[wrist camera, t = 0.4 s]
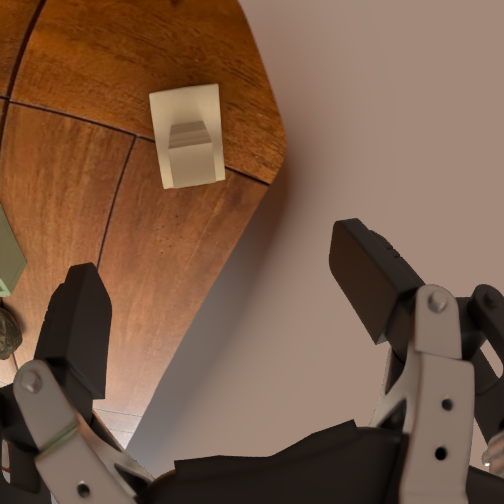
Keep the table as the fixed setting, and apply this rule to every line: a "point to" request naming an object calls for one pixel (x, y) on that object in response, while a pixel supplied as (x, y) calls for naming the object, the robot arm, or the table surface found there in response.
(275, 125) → the table surface
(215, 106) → the base with upright post
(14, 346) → the seashell
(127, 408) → the table surface
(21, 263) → the bin
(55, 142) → the table surface
